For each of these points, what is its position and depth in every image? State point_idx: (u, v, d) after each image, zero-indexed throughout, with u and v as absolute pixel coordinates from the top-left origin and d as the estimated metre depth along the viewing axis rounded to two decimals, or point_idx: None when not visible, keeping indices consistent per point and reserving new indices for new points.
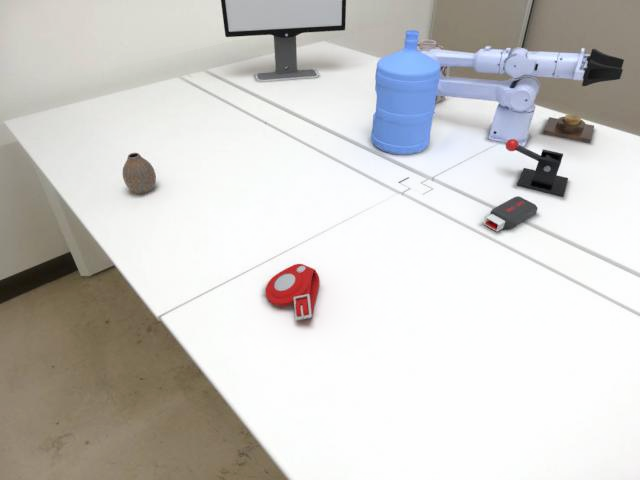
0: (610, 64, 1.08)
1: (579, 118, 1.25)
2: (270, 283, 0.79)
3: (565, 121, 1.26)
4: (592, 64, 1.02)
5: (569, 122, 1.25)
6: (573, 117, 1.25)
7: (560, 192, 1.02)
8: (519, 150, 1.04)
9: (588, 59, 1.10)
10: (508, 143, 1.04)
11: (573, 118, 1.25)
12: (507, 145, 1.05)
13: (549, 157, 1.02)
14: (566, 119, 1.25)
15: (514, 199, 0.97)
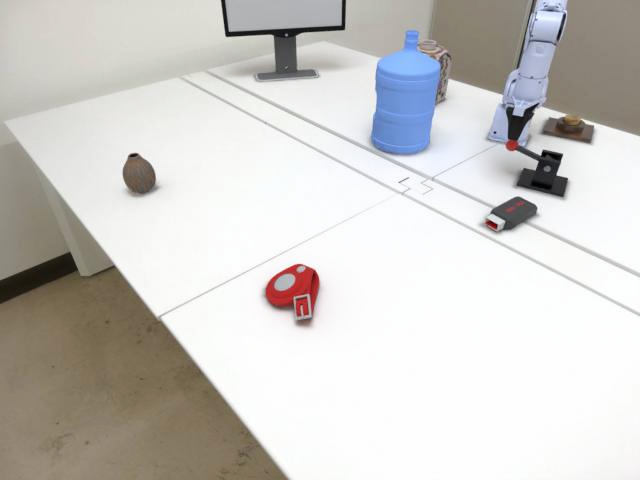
0: None
1: (579, 118, 1.25)
2: (270, 283, 0.79)
3: (565, 121, 1.26)
4: (529, 118, 0.95)
5: (569, 122, 1.25)
6: (573, 117, 1.25)
7: (560, 192, 1.02)
8: (519, 150, 1.04)
9: None
10: (508, 143, 1.04)
11: (573, 118, 1.25)
12: (507, 145, 1.05)
13: (549, 157, 1.02)
14: (566, 119, 1.25)
15: (514, 199, 0.97)
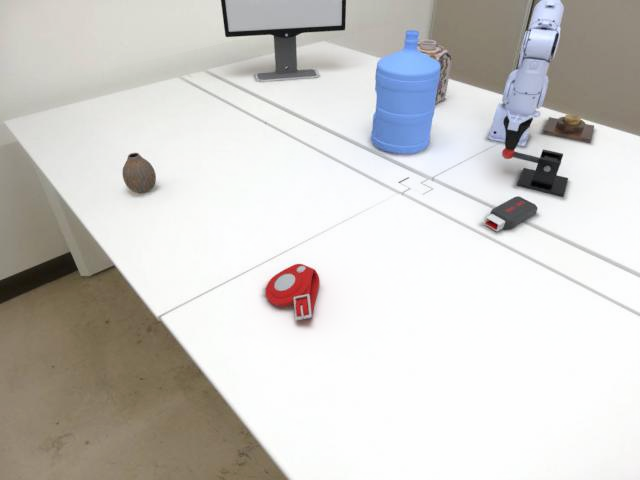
0: None
1: (579, 118, 1.25)
2: (270, 283, 0.79)
3: (565, 121, 1.26)
4: (526, 129, 0.99)
5: (569, 122, 1.25)
6: (573, 117, 1.25)
7: (560, 192, 1.02)
8: (516, 156, 1.05)
9: None
10: (504, 152, 1.06)
11: (573, 118, 1.25)
12: (503, 154, 1.06)
13: (547, 157, 1.03)
14: (566, 119, 1.25)
15: (514, 199, 0.97)
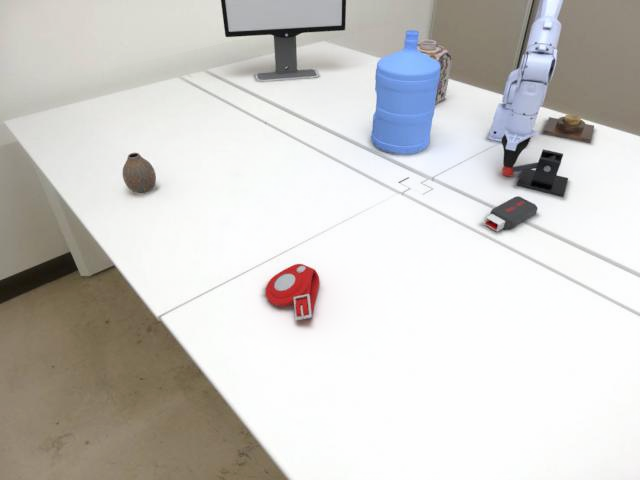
0: None
1: (579, 118, 1.25)
2: (270, 283, 0.79)
3: (565, 121, 1.26)
4: (523, 148, 1.02)
5: (569, 122, 1.25)
6: (573, 117, 1.25)
7: (560, 192, 1.02)
8: (516, 170, 1.07)
9: None
10: (502, 171, 1.09)
11: (573, 118, 1.25)
12: (503, 173, 1.09)
13: None
14: (566, 119, 1.25)
15: (514, 199, 0.97)
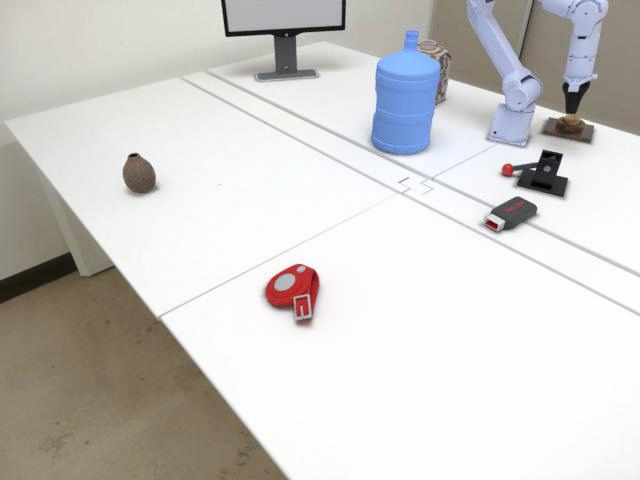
0: None
1: (579, 118, 1.25)
2: (270, 283, 0.79)
3: (565, 121, 1.26)
4: (585, 91, 1.06)
5: (569, 122, 1.25)
6: (573, 117, 1.25)
7: (560, 192, 1.02)
8: (516, 169, 1.07)
9: None
10: (502, 170, 1.08)
11: (573, 118, 1.25)
12: (503, 172, 1.09)
13: None
14: (566, 119, 1.25)
15: (514, 199, 0.97)
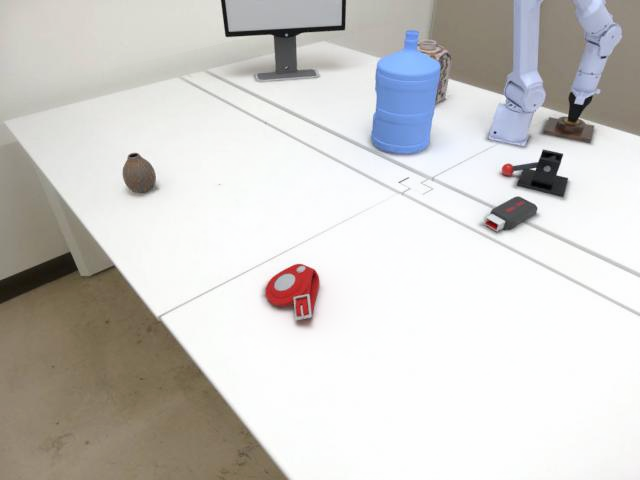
0: None
1: (578, 122, 1.25)
2: (270, 283, 0.79)
3: None
4: (588, 103, 1.20)
5: None
6: None
7: (560, 192, 1.02)
8: (516, 169, 1.07)
9: None
10: (502, 170, 1.08)
11: (572, 122, 1.25)
12: (503, 172, 1.09)
13: None
14: None
15: (514, 199, 0.97)
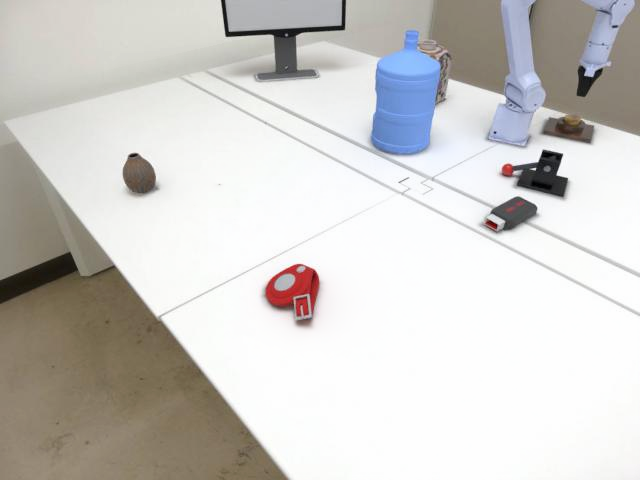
0: None
1: (579, 118, 1.25)
2: (270, 283, 0.79)
3: (565, 121, 1.26)
4: (598, 76, 1.15)
5: (569, 122, 1.25)
6: (573, 117, 1.25)
7: (560, 192, 1.02)
8: (516, 169, 1.07)
9: None
10: (502, 170, 1.08)
11: (573, 118, 1.25)
12: (503, 172, 1.09)
13: None
14: (566, 119, 1.25)
15: (514, 199, 0.97)
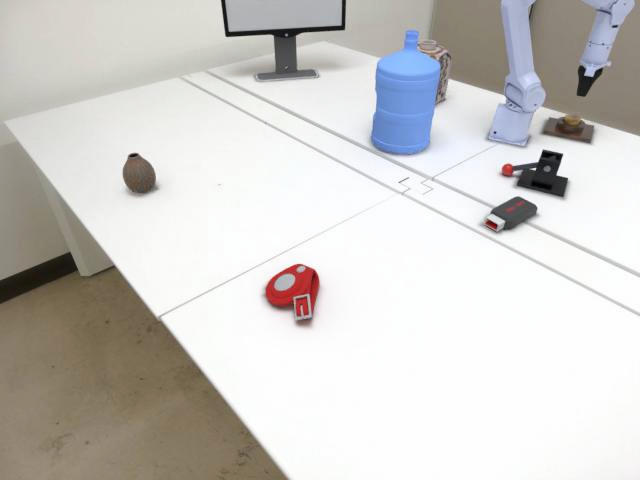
0: None
1: (579, 118, 1.25)
2: (270, 283, 0.79)
3: (565, 121, 1.26)
4: (598, 76, 1.15)
5: (569, 122, 1.25)
6: (573, 117, 1.25)
7: (560, 192, 1.02)
8: (516, 169, 1.07)
9: None
10: (502, 170, 1.08)
11: (573, 118, 1.25)
12: (503, 172, 1.09)
13: None
14: (566, 119, 1.25)
15: (514, 199, 0.97)
